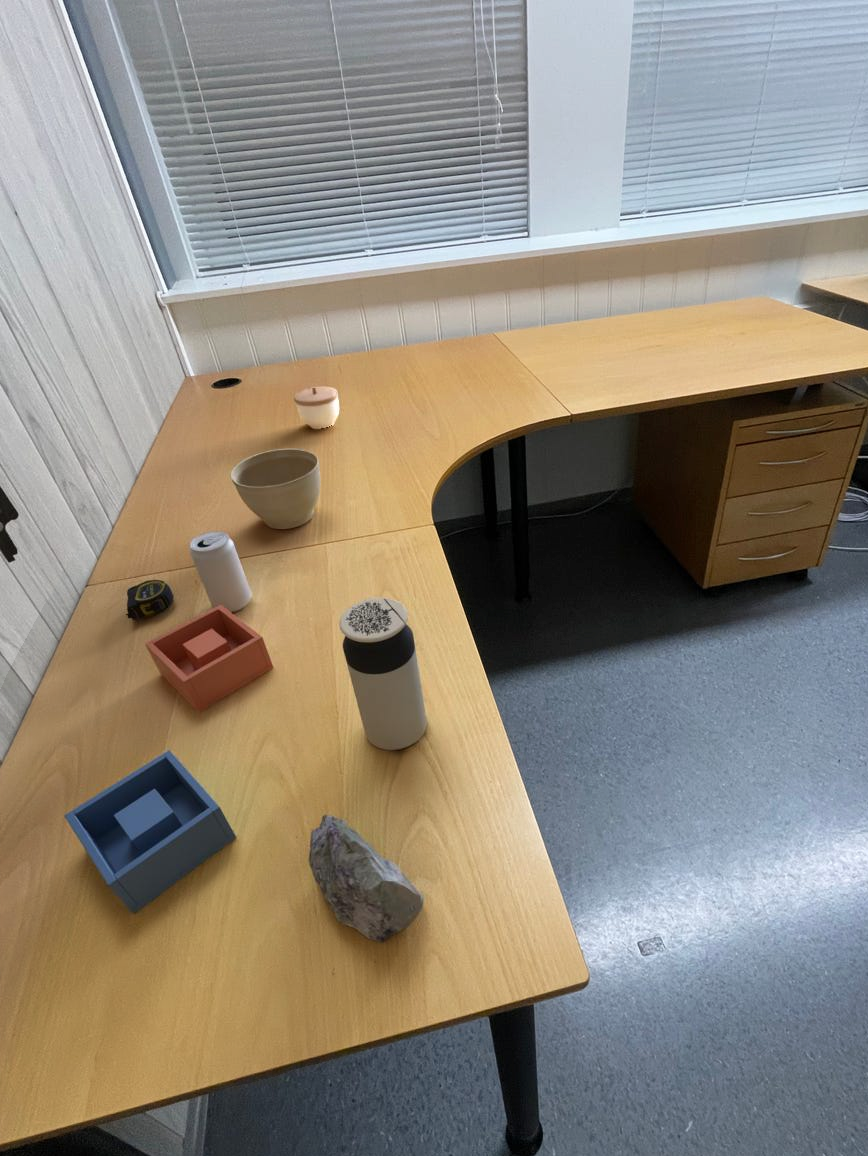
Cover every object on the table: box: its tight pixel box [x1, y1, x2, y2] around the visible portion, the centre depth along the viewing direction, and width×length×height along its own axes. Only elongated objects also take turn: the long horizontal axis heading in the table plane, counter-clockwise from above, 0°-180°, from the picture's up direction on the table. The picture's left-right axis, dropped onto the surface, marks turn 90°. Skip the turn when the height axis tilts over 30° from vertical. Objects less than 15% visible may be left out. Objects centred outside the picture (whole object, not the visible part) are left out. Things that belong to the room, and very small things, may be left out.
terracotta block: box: [182, 629, 231, 670], centre depth 88 cm, size 4×4×4 cm
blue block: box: [114, 789, 182, 854], centre depth 67 cm, size 4×4×4 cm
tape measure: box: [125, 579, 175, 621], centre depth 101 cm, size 7×7×4 cm
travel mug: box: [338, 597, 428, 751], centre depth 74 cm, size 8×8×18 cm
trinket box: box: [293, 386, 340, 430], centre depth 156 cm, size 11×11×9 cm
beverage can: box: [189, 531, 253, 613], centre depth 98 cm, size 6×6×12 cm
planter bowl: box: [230, 448, 321, 530], centre depth 119 cm, size 16×16×11 cm
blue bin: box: [63, 749, 237, 915], centre depth 67 cm, size 12×12×6 cm
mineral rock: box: [308, 813, 424, 943], centre depth 60 cm, size 13×11×10 cm
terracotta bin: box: [144, 605, 274, 713], centre depth 88 cm, size 12×12×6 cm
